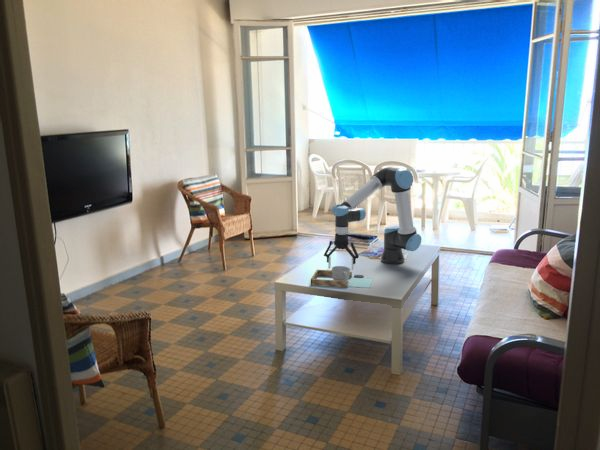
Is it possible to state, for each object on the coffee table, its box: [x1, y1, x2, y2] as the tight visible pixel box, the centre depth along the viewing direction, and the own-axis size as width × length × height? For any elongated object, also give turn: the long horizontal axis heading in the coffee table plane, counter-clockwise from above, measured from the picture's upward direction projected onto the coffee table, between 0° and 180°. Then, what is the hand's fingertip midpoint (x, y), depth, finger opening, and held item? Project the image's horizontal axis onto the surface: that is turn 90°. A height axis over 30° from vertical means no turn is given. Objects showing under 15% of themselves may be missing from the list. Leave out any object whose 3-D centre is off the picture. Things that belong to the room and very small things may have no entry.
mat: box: [347, 277, 373, 289], centre depth 308 cm, size 13×16×1 cm
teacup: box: [331, 265, 351, 281], centre depth 309 cm, size 14×11×8 cm
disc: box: [353, 274, 365, 278], centre depth 319 cm, size 6×6×1 cm
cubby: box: [310, 269, 353, 288], centre depth 311 cm, size 22×19×4 cm
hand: (340, 268), depth 308 cm, fingers open, 13 cm apart
